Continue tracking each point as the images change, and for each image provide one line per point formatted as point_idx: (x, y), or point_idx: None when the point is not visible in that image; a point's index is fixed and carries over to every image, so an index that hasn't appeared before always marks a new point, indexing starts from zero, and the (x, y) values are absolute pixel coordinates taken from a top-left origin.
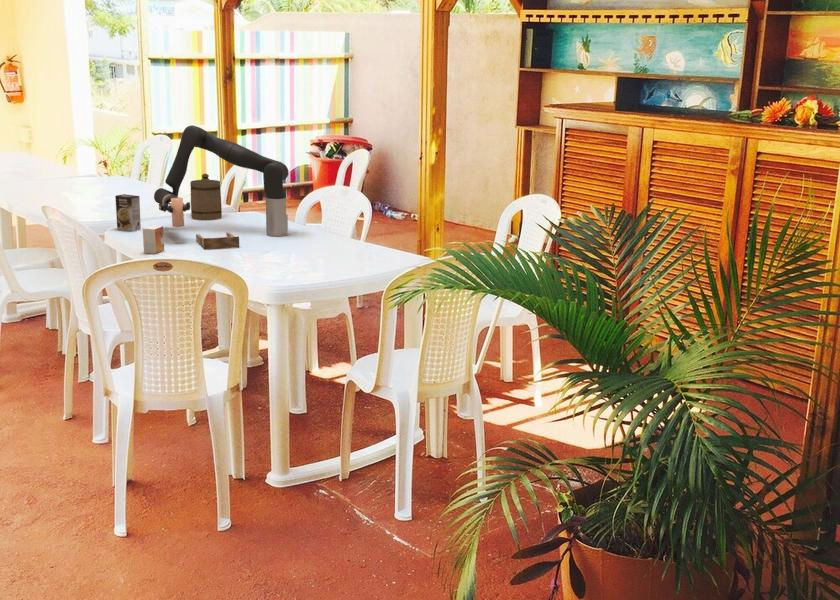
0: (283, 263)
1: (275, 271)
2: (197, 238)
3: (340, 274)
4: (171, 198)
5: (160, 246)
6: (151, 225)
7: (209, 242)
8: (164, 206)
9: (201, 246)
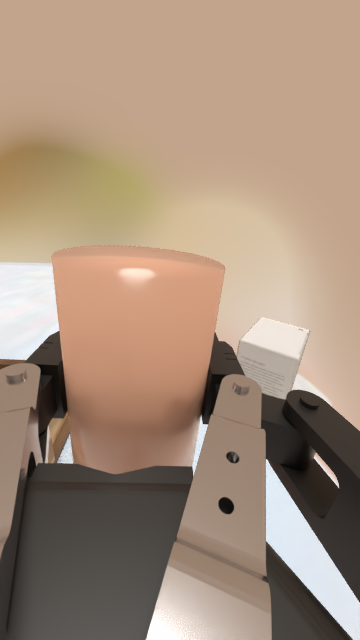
0: (24, 295)
1: None
2: None
3: (13, 269)
4: (215, 269)
5: None
6: (297, 356)
7: None
8: (300, 397)
9: (66, 438)
